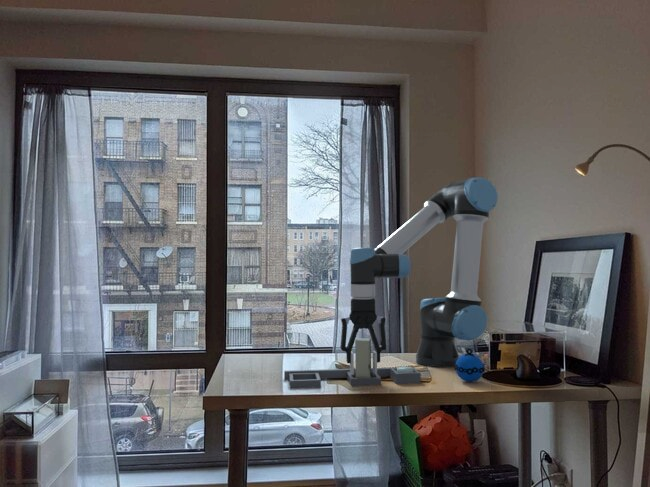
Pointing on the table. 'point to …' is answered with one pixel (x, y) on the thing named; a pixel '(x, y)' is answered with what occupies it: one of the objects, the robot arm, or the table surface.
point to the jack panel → (314, 377)
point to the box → (363, 357)
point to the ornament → (469, 367)
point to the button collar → (405, 376)
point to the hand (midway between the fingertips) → (363, 373)
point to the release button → (404, 369)
